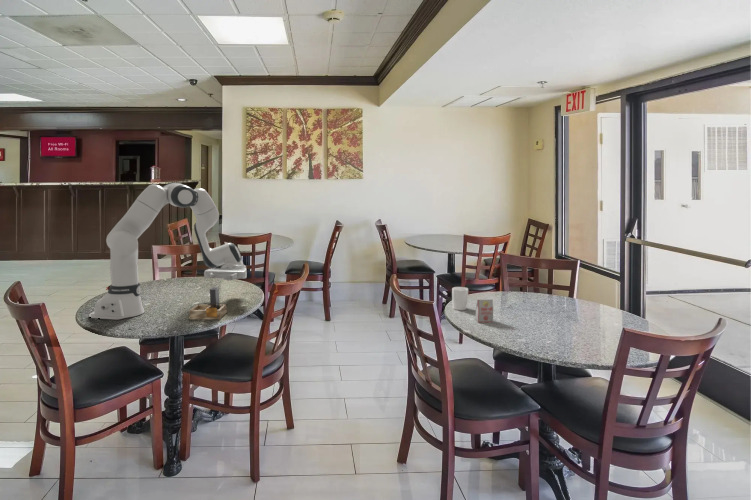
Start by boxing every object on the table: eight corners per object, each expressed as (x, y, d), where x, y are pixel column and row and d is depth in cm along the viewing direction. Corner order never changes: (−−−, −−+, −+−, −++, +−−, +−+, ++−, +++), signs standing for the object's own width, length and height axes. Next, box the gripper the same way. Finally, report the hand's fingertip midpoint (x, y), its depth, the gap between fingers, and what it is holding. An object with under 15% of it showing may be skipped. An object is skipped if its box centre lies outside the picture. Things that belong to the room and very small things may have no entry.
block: (210, 315, 210) (209, 289, 208) (214, 312, 215) (213, 287, 213) (216, 315, 210) (215, 289, 208) (219, 312, 215) (218, 287, 213)
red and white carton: (475, 320, 209) (476, 298, 207) (490, 319, 209) (491, 298, 208) (477, 322, 205) (478, 300, 204) (492, 322, 206) (493, 300, 204)
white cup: (456, 311, 222) (457, 291, 221) (448, 307, 230) (449, 287, 228) (470, 309, 225) (471, 289, 224) (461, 305, 233) (462, 286, 231)
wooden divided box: (189, 319, 206) (188, 308, 206) (197, 311, 218) (197, 301, 217) (219, 319, 207) (219, 308, 206) (227, 311, 218) (226, 301, 218)
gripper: (208, 264, 236) (199, 269, 222) (249, 265, 236) (242, 270, 223) (209, 277, 237) (199, 282, 223) (249, 277, 237) (242, 283, 224)
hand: (221, 276), depth 223 cm, fingers open, 8 cm apart
